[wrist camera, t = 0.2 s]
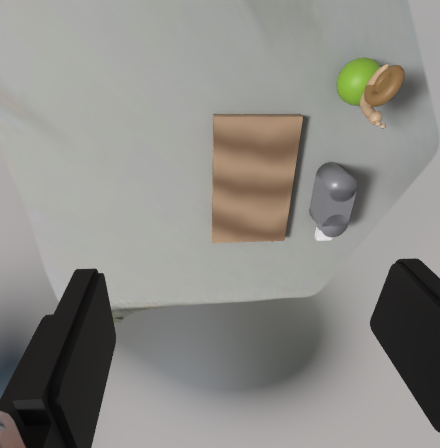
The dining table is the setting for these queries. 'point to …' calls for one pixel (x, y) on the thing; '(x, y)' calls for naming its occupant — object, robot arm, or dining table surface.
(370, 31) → the dining table surface
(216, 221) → the walnut board
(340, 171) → the block
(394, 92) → the snail figurine
